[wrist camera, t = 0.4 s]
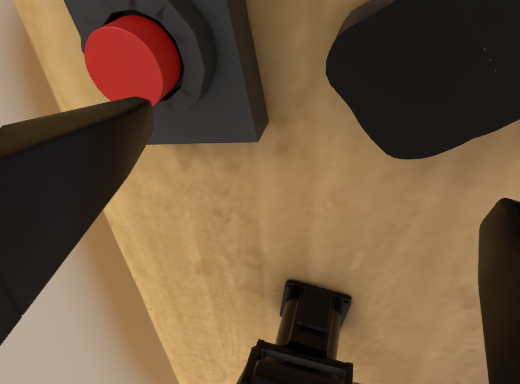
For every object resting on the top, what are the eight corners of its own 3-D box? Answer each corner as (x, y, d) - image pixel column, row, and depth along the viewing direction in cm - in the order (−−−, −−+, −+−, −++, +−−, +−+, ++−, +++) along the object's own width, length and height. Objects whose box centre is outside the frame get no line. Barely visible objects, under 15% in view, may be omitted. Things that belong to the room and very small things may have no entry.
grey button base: (268, 122, 26) (250, 157, 22) (148, 127, 29) (116, 159, 26) (222, -116, 18) (184, -116, 14) (65, -72, 21) (4, -64, 18)
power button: (191, 92, 21) (174, 109, 19) (127, 96, 22) (107, 113, 21) (164, 8, 18) (142, 20, 17) (94, 20, 20) (68, 32, 18)
